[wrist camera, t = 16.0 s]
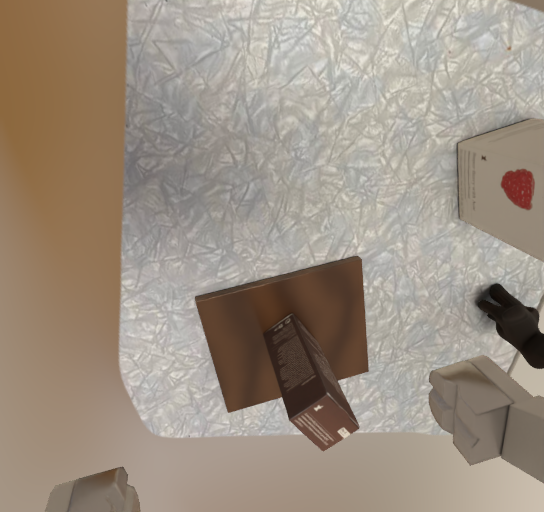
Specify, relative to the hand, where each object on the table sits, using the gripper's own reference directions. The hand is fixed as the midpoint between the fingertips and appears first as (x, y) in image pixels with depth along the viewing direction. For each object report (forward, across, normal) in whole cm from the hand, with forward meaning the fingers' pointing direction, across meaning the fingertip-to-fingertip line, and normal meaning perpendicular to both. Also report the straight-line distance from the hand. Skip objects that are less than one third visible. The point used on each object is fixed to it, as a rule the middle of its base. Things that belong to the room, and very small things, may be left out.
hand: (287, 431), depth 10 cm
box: (+28, -5, +20) cm, 34 cm away
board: (+29, -5, +20) cm, 35 cm away
